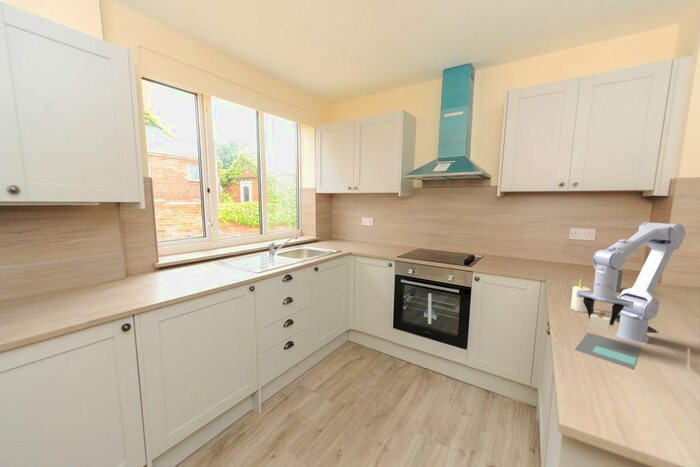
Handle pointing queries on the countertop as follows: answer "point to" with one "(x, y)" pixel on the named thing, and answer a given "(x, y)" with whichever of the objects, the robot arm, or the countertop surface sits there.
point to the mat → (609, 350)
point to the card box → (600, 319)
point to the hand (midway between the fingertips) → (601, 321)
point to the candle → (578, 298)
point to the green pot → (619, 279)
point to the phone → (647, 329)
